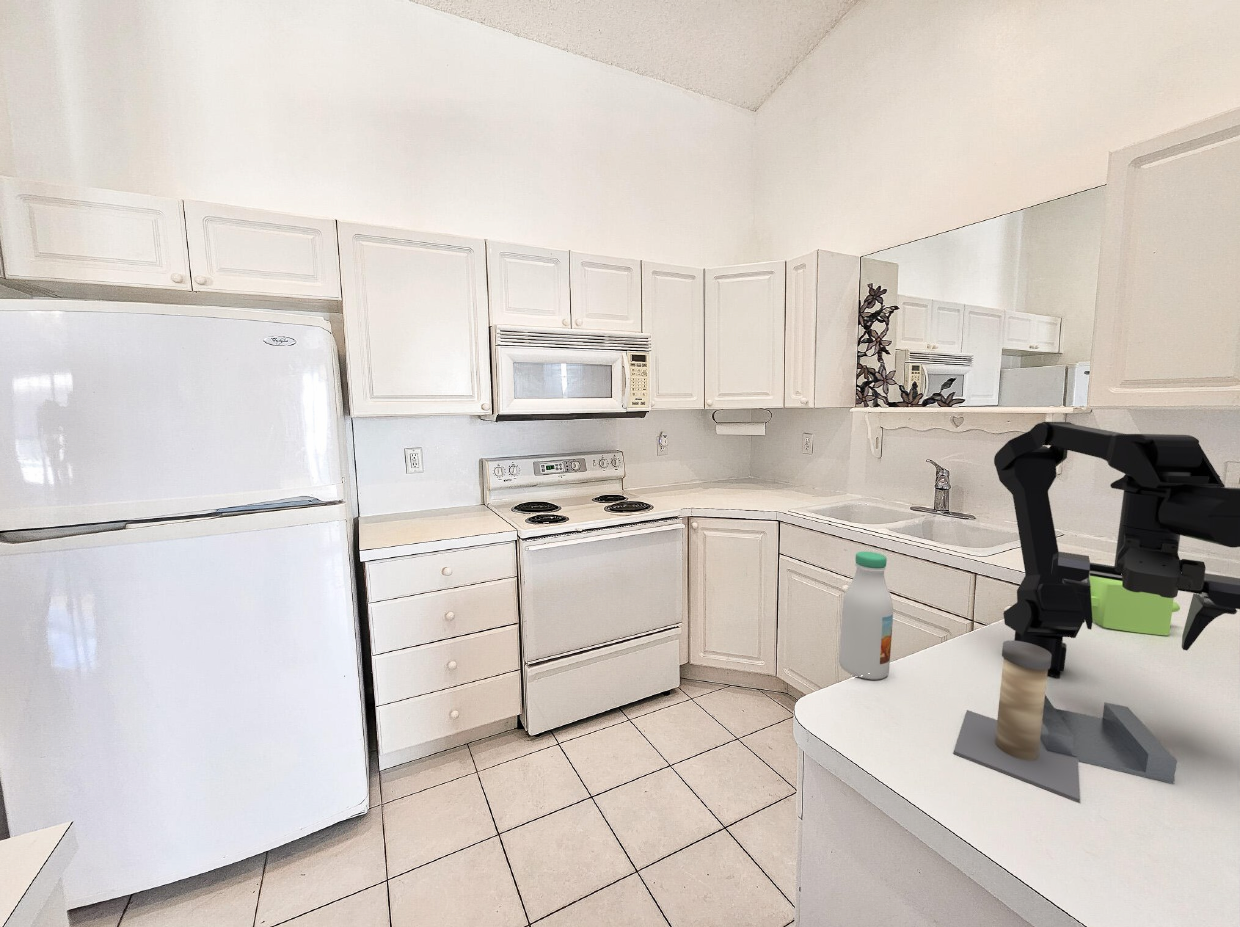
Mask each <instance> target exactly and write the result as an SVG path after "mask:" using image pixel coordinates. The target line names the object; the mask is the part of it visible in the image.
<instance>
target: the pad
mask: <svg viewBox="0 0 1240 927" xmlns="http://www.w3.org/2000/svg"><path fill="white" fill-rule="evenodd" d="M996 727H997V719H995V718H993V717H990V716H987V715H983V714H981V713H977V712H976V711H975V712H974V711H971V710H969V709H967V710H966V712H965V715H964V718H963V721H962V725H961V727H960V730H959V734H958V737H957V740H956V743H955V746H954V748H953V755H956V756H958V757H960V758H963V759H966V760H968V761H971V762H973V763H977V764H978V765H982V766H984V767H986V768H989V769H992V770H994V771H998V772H1000V773H1002V774H1005V775H1008V776H1010V777H1012V778H1015V779H1018V780H1020V781H1022V782H1025V783H1028V784H1030V785H1033V786H1036V787H1039V788H1041V789H1042V790H1043V789H1044V790H1046V791H1049V792H1051V793H1054V794H1057V795H1059V796H1062V797H1064V798H1067V799H1070V800H1072V801H1074V802H1077V803H1081V794H1080V793H1081V791H1080V775H1079V774H1080V772H1079V761H1078V758H1076V757H1072V756H1068V755H1063V754H1059V753H1055V752H1051V751H1047V750H1046V748H1045V747H1044V745H1043V743H1042V741H1041V740H1040V745H1039V753H1038V758H1037V759H1036V760H1022V759H1019V758H1016V757H1013V756H1011V755H1008V754H1007V753H1005V752H1003V751H1002V750H1000V749H999V748H998V747H997V746H996V744H995V737H996Z"/></svg>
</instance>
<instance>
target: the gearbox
mask: <svg viewBox="0 0 1240 927" xmlns="http://www.w3.org/2000/svg"><path fill="white" fill-rule="evenodd" d="M1089 580H1090V585H1091V603H1092V618H1093V621H1092V623H1094V624H1097V625H1098V626H1101V627H1102V628H1105V629H1106V628H1107V629H1112V630H1117V631H1125V632H1132V633H1139V634H1147V635H1148V634H1150V635H1159V636H1169V635H1170V630H1171V629H1170V628H1171V623H1172V616H1173V613H1176V612H1179V611H1180V609H1181V606H1180V605H1179V604H1178V603H1177V602H1175V600H1174V598H1165V597H1161V596H1160V595H1156V594H1150V593H1145V592H1139V593H1137V592H1132V591H1129V590H1126V589H1125V588H1124V587H1123V586H1122V581H1119V580H1113V579H1107V578H1101V577H1095V576H1090V578H1089Z"/></svg>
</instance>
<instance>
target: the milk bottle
mask: <svg viewBox="0 0 1240 927" xmlns="http://www.w3.org/2000/svg"><path fill="white" fill-rule="evenodd" d="M887 561H888V560H887V557H886V556H885V555H884V554H881V553H878V552H873V551H858V552H857V553H856V554H855V564H854V566H855V567H856V568H855V573H854V576H853V578H852V580H851V581H850V583H849V584H848V587H847V589H846V590H845V593H844V596H843V599H842V600H843V601H842V608H841V609H842V610H841V624H840V636H839V651H838V663H839V666H840V667H841V670H844V672H847V673H848V674H850V675H852V676H854V677H857V678H861V679H865V680H872V681H873V680H882V679H885V678H886V677H887V676H888V675H889V671H890V664H891V663H890V662H891V649H892V640H893V638H892V635H893V621H894V606H893V605H894V603H893V598H892V596H891V595H892V594H891V593H890V590H889V588H888V585H887V582H886V579H885V571H886V570H887V568H886V567H887ZM868 673H870V674H868ZM861 675H863V676H862V677H859V676H861Z"/></svg>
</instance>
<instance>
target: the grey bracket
mask: <svg viewBox="0 0 1240 927" xmlns="http://www.w3.org/2000/svg"><path fill="white" fill-rule="evenodd" d="M1102 710H1103V712H1102V717H1098V716H1094V715H1089V714H1088V715H1087V714H1083V713H1078V712H1073V711H1069V710H1065V709H1060V708H1055V707H1054V705H1053V704H1052V702H1051V701H1050V700H1049V698H1048V697H1047V695H1046V694H1045V700H1044V709H1043V718H1042V727H1041V736H1040V740H1041V741H1042V743H1043V745H1044V747H1045V748H1046V750H1047V751H1051V752H1055V753H1059V754H1063V755H1068V756H1072V757H1076V758H1078V762H1081V763H1085V764H1089V765H1093V766H1098V767H1101V768H1106V769H1111V770H1113V771H1118V772H1121V773H1127V774H1130V775H1136V776H1139V777H1144V778H1147V779H1151V780H1156V781H1160V782H1164V783H1168V784H1172V785H1174V784H1175V777H1176V771H1177V770H1176V769H1177V763H1178V760H1177V759H1176V758H1175V756H1174V755H1173V754H1172V753H1171V752H1170V751H1169V750H1168V749H1167V747H1165V746H1164V744H1162V743H1161V741H1160V740H1159V739H1158V738H1157V737H1156V736H1155V735H1154V733H1153V732H1151V731H1150V730H1149V728H1148V727H1147V726H1146V725H1145V724H1144V723H1143V722H1142V721H1141V720H1140V719H1139V717H1138V716H1137V715H1136V714H1135V713H1134V712H1133V711H1132V709H1130V707H1129V706H1126V705H1125V706H1124V705H1119V704H1114V703H1109V702H1104V704H1103V709H1102Z"/></svg>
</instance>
